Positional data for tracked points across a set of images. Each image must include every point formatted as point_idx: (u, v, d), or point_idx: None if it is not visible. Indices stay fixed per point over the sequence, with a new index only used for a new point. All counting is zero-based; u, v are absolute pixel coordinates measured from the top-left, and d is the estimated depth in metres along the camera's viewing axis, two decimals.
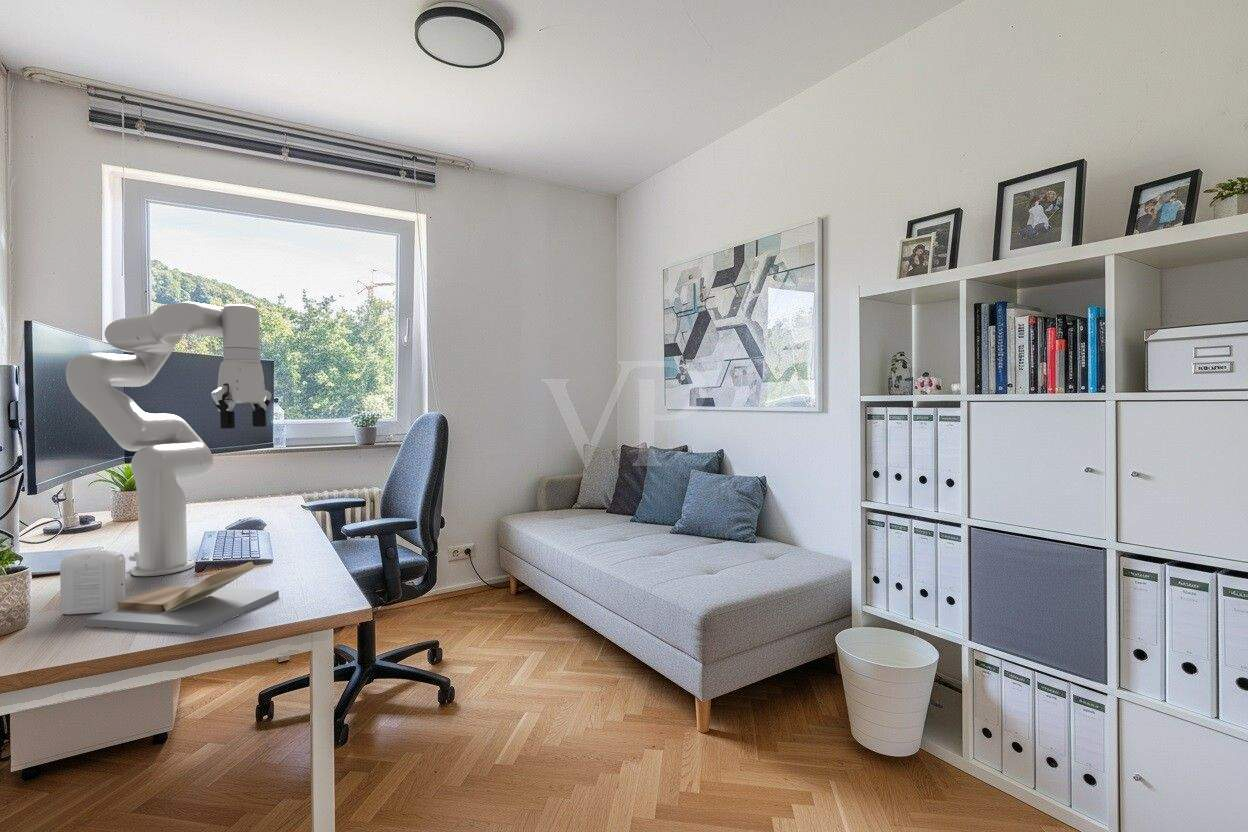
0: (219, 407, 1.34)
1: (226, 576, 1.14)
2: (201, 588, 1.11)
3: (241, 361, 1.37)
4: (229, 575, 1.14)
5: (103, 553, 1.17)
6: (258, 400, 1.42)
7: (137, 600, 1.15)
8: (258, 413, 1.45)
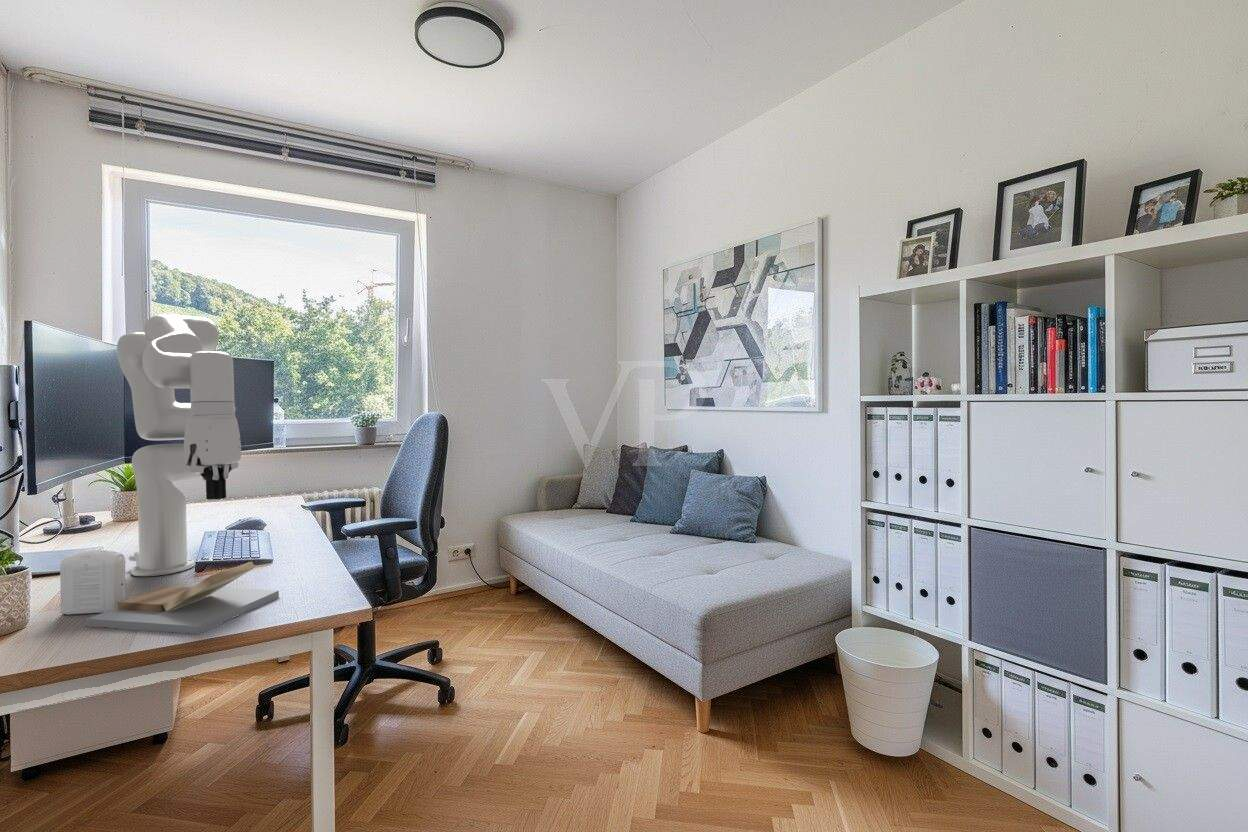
0: (204, 476, 1.19)
1: (226, 576, 1.14)
2: (201, 588, 1.11)
3: (211, 417, 1.18)
4: (229, 575, 1.14)
5: (103, 553, 1.17)
6: (233, 460, 1.23)
7: (137, 600, 1.15)
8: None
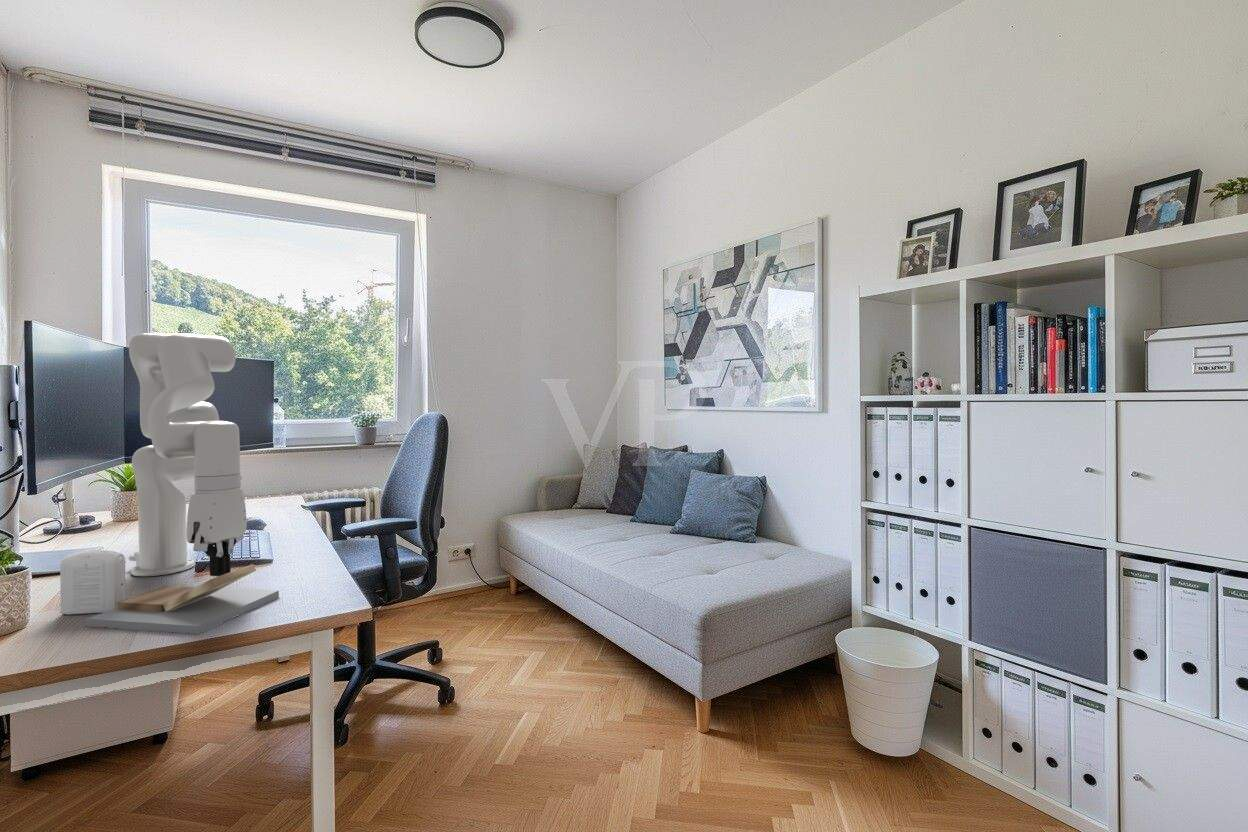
0: (208, 553, 1.14)
1: (227, 579, 1.13)
2: (202, 590, 1.11)
3: (216, 492, 1.12)
4: (230, 578, 1.14)
5: (103, 553, 1.17)
6: (238, 534, 1.18)
7: (137, 600, 1.15)
8: None
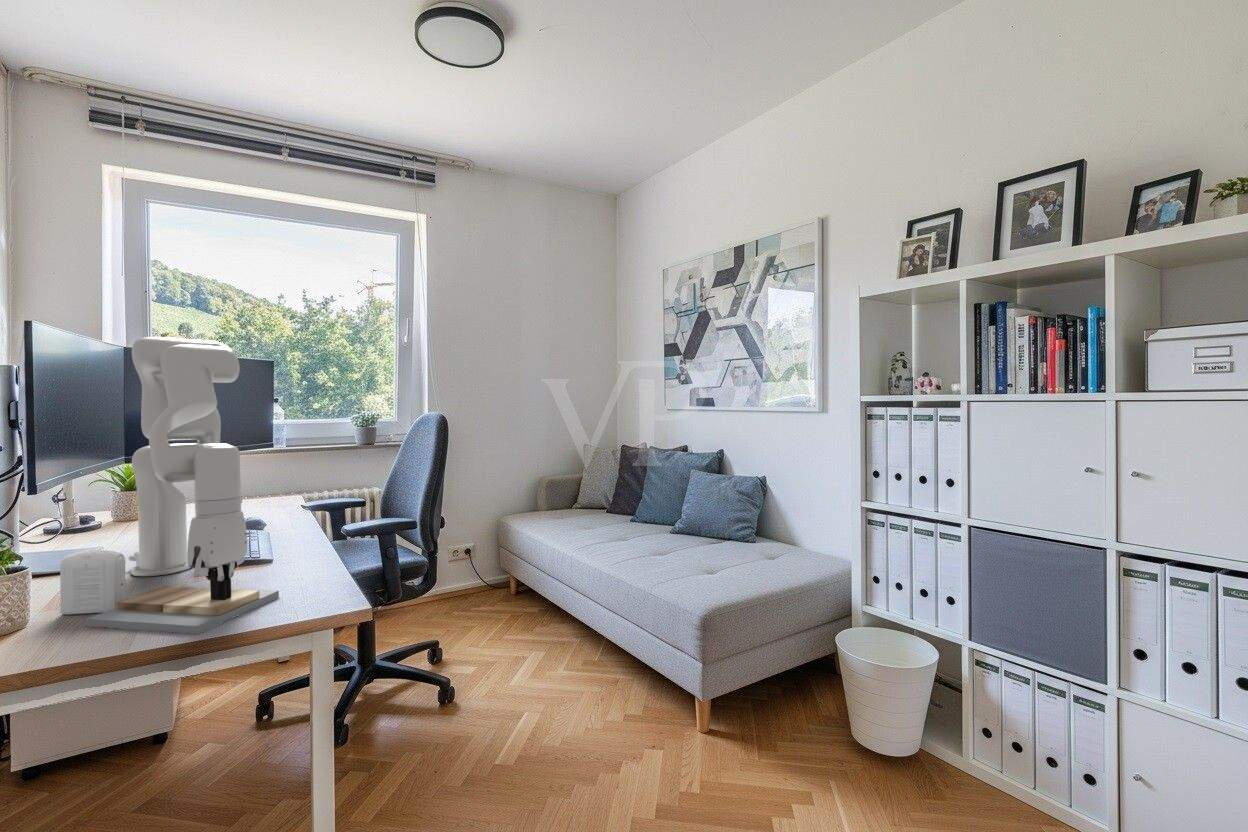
0: (209, 577, 1.13)
1: (231, 608, 1.14)
2: (204, 613, 1.11)
3: (216, 517, 1.12)
4: (234, 607, 1.14)
5: (103, 553, 1.17)
6: (238, 557, 1.18)
7: (137, 600, 1.15)
8: None
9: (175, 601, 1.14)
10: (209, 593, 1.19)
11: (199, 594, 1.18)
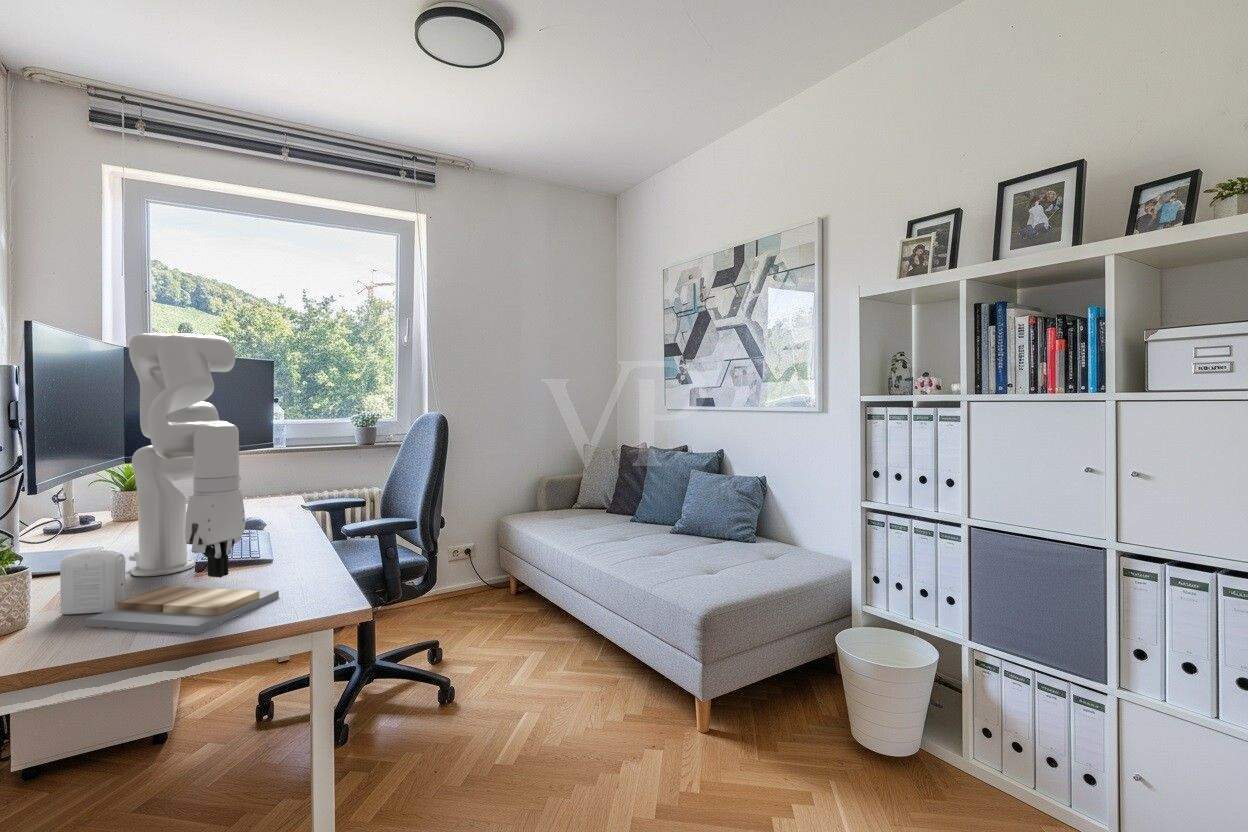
0: (206, 554, 1.14)
1: (231, 608, 1.14)
2: (204, 613, 1.11)
3: (214, 494, 1.13)
4: (234, 607, 1.14)
5: (103, 553, 1.17)
6: (236, 535, 1.18)
7: (137, 600, 1.15)
8: None
9: (175, 601, 1.14)
10: (209, 593, 1.19)
11: (199, 594, 1.18)
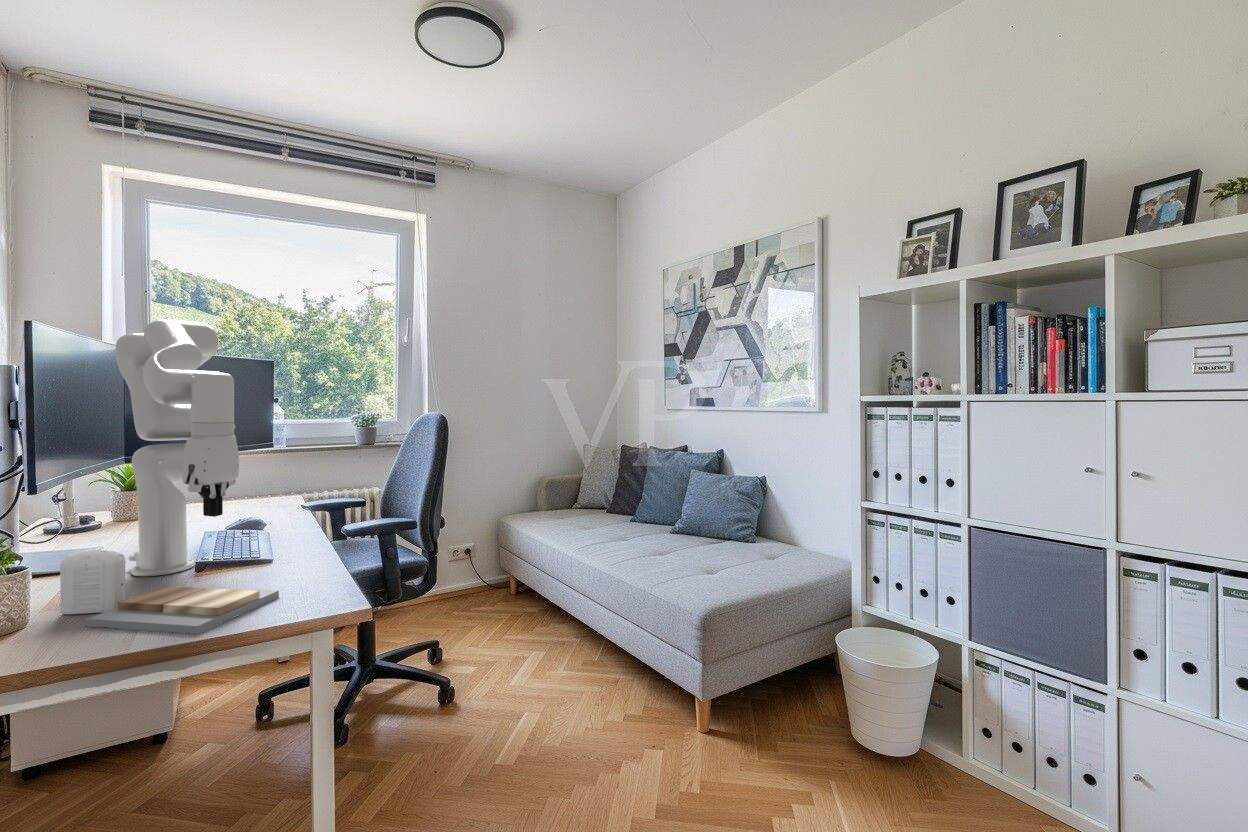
0: (202, 494, 1.22)
1: (231, 608, 1.14)
2: (204, 613, 1.11)
3: (210, 438, 1.20)
4: (234, 607, 1.14)
5: (103, 553, 1.17)
6: (230, 478, 1.26)
7: (137, 600, 1.15)
8: None
9: (175, 601, 1.14)
10: (209, 593, 1.19)
11: (199, 594, 1.18)
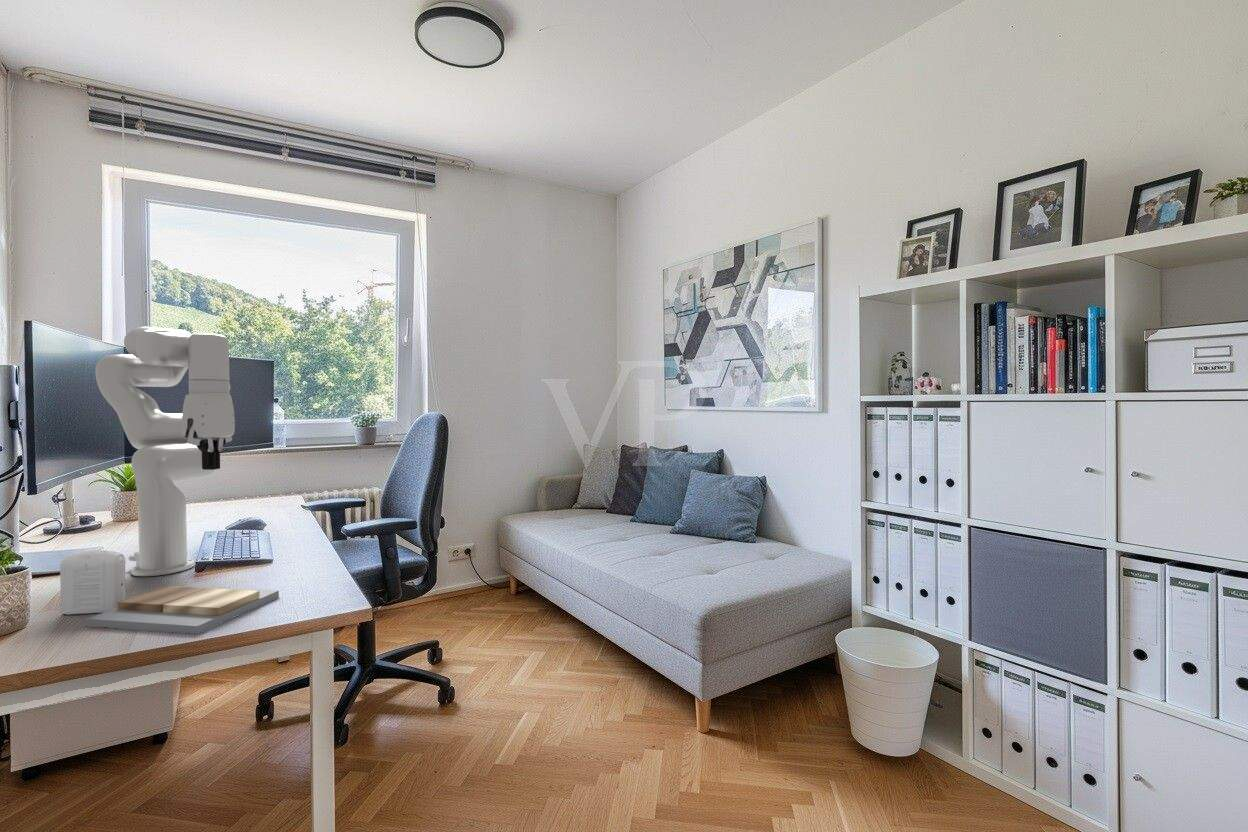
0: (200, 448, 1.29)
1: (231, 608, 1.14)
2: (204, 613, 1.11)
3: (207, 394, 1.28)
4: (234, 607, 1.14)
5: (103, 553, 1.17)
6: (227, 434, 1.34)
7: (137, 600, 1.15)
8: None
9: (175, 601, 1.14)
10: (209, 593, 1.19)
11: (199, 594, 1.18)
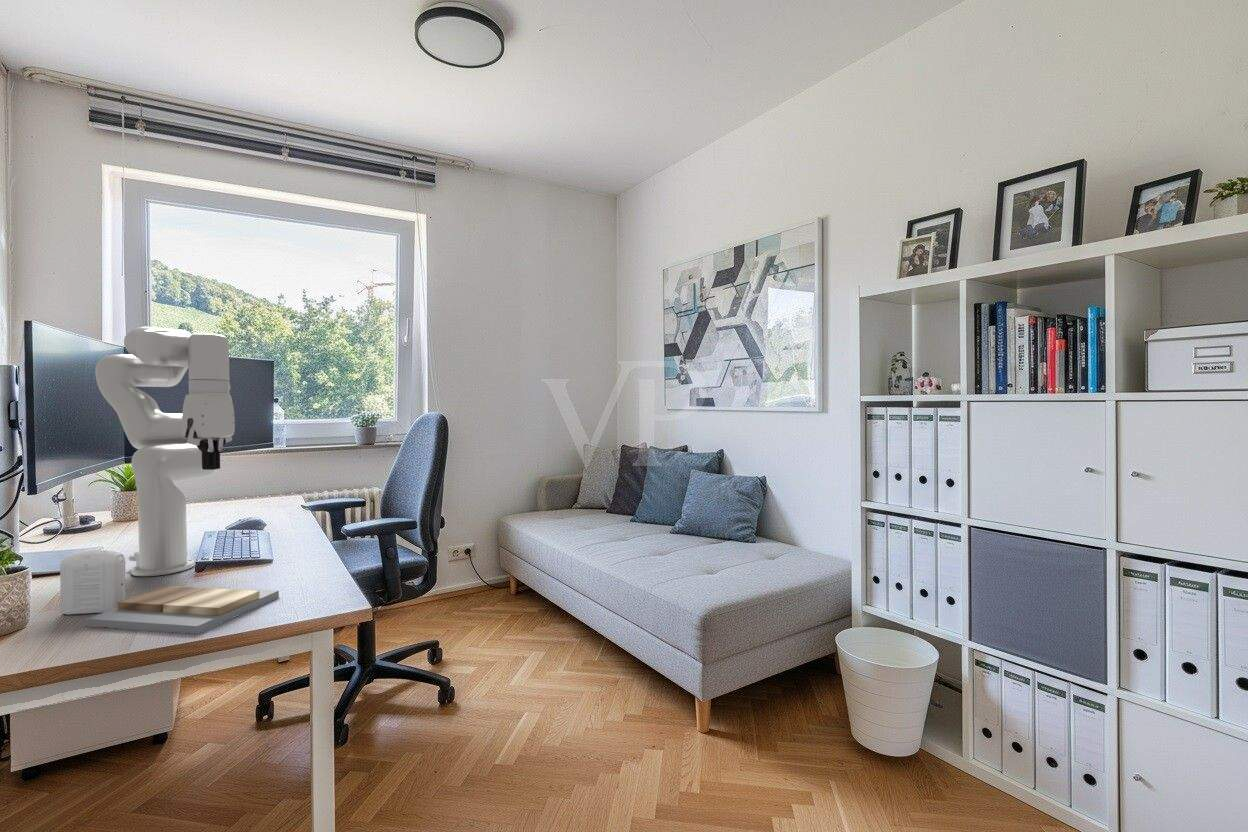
0: (200, 448, 1.29)
1: (231, 608, 1.14)
2: (204, 613, 1.11)
3: (207, 394, 1.28)
4: (234, 607, 1.14)
5: (103, 553, 1.17)
6: (227, 434, 1.34)
7: (137, 600, 1.15)
8: None
9: (175, 601, 1.14)
10: (209, 593, 1.19)
11: (199, 594, 1.18)
